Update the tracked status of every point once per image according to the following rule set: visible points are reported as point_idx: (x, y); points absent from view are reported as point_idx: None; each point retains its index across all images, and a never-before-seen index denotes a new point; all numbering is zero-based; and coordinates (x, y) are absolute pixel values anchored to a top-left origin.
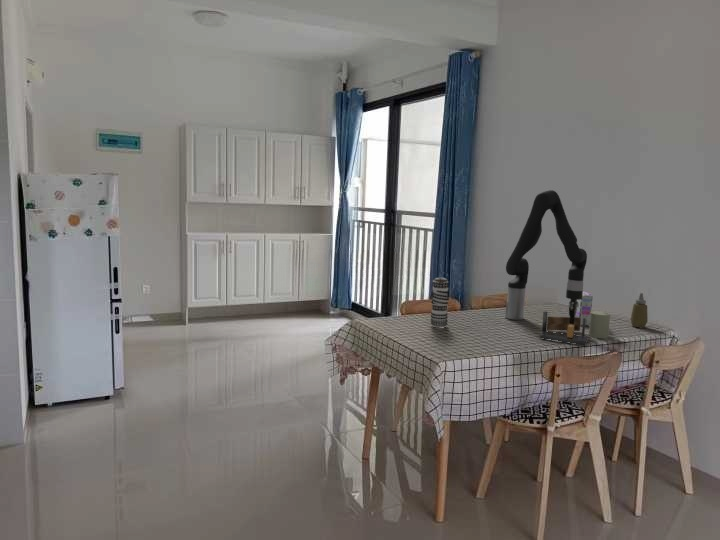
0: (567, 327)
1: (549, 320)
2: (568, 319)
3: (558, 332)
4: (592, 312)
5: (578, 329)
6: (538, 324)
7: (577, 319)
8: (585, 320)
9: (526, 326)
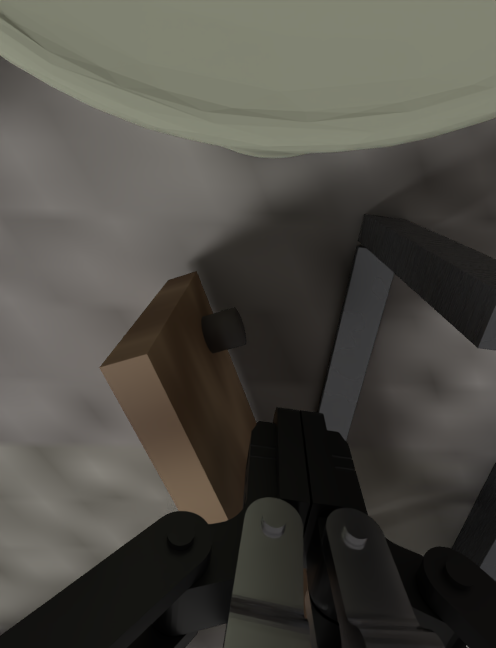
0: (246, 422)
1: (310, 642)
2: (237, 503)
3: None
4: (337, 8)
5: (199, 293)
6: (80, 575)
7: (183, 389)
8: (490, 275)
9: (199, 632)
